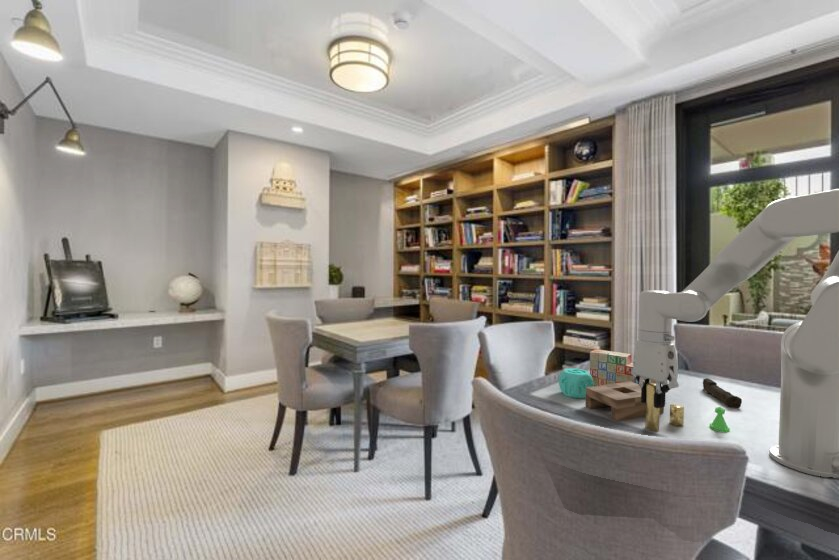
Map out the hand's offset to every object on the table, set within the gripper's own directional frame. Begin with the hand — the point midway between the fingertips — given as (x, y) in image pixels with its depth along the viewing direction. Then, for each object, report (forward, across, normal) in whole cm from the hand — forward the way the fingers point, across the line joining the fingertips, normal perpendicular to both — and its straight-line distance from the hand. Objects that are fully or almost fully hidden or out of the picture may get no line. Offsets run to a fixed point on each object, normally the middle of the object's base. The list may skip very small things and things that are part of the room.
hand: (652, 403), depth 104 cm
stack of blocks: (+7, +28, -20) cm, 36 cm away
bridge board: (+7, +13, -4) cm, 15 cm away
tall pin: (+7, 0, 0) cm, 7 cm away
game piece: (+7, -6, -17) cm, 19 cm away
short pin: (+7, 0, -9) cm, 11 cm away
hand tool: (+7, +11, -41) cm, 43 cm away
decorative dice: (+7, +29, 0) cm, 30 cm away
